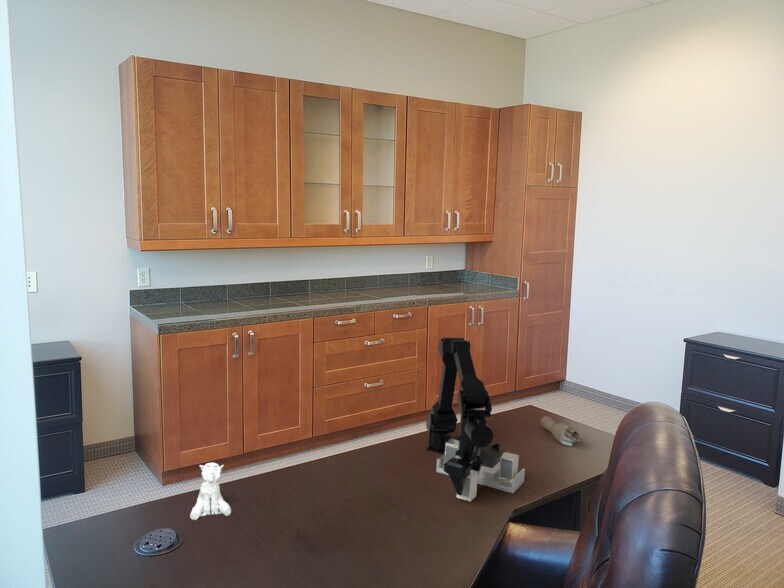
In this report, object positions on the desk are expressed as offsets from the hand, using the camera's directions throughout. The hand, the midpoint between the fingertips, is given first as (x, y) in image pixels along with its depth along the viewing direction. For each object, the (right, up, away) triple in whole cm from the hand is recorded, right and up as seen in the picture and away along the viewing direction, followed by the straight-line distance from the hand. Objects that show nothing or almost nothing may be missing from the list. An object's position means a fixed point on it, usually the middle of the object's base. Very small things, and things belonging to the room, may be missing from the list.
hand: (466, 488), depth 164 cm
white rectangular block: (0, -2, 0) cm, 2 cm away
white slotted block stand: (+5, -1, +13) cm, 14 cm away
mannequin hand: (+38, +1, +46) cm, 60 cm away
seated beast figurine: (-65, -1, -14) cm, 66 cm away
